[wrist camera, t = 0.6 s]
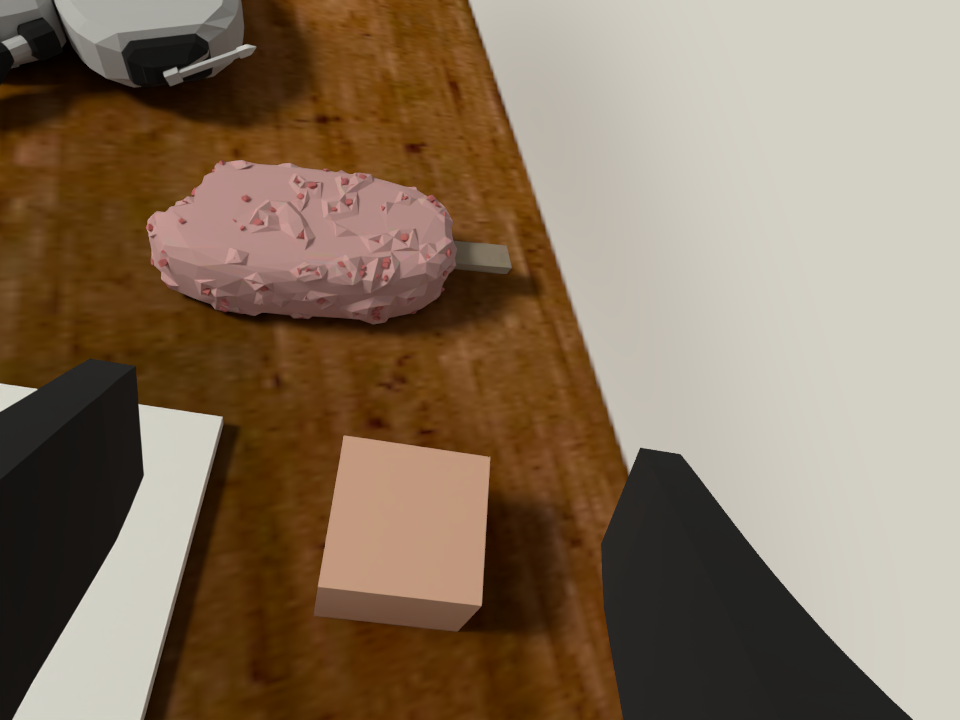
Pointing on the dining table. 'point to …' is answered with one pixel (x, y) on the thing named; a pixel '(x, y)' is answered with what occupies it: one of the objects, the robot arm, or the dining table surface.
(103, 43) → the robot toy
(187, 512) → the mat
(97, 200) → the dining table surface
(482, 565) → the terracotta brick
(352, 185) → the ice cream bar
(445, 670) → the dining table surface
